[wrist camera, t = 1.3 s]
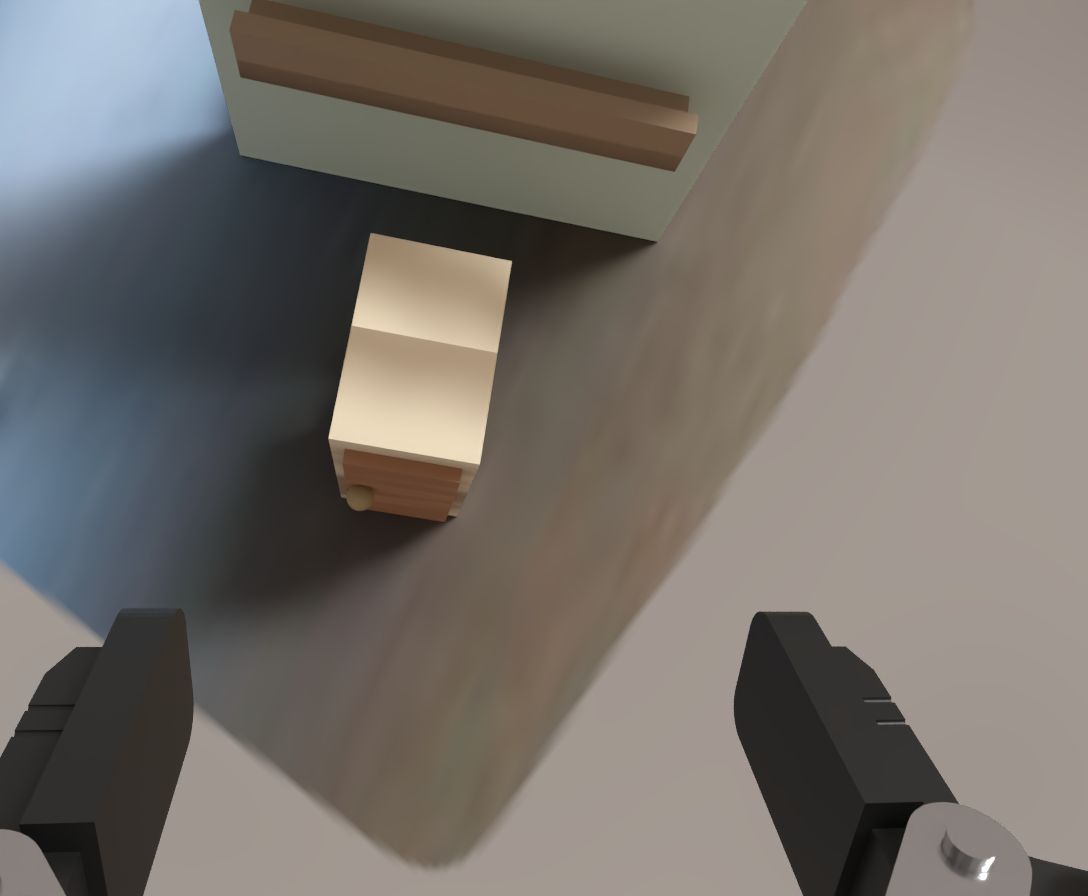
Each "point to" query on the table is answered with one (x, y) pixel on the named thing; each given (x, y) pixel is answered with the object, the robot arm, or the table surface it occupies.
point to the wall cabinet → (417, 378)
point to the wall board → (499, 95)
